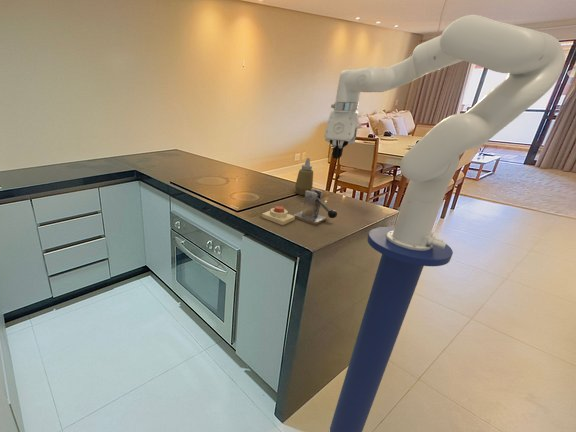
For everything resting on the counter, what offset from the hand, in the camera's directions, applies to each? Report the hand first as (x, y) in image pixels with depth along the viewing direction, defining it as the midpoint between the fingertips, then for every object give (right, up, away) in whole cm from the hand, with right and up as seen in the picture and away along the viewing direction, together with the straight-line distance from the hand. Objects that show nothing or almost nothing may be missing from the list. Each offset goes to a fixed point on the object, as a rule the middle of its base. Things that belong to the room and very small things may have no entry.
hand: (336, 157), depth 114 cm
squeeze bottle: (0, -11, +34) cm, 36 cm away
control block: (-21, -24, +5) cm, 32 cm away
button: (-21, -21, +4) cm, 30 cm away
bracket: (-8, -24, +5) cm, 26 cm away
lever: (-6, -19, +1) cm, 20 cm away
